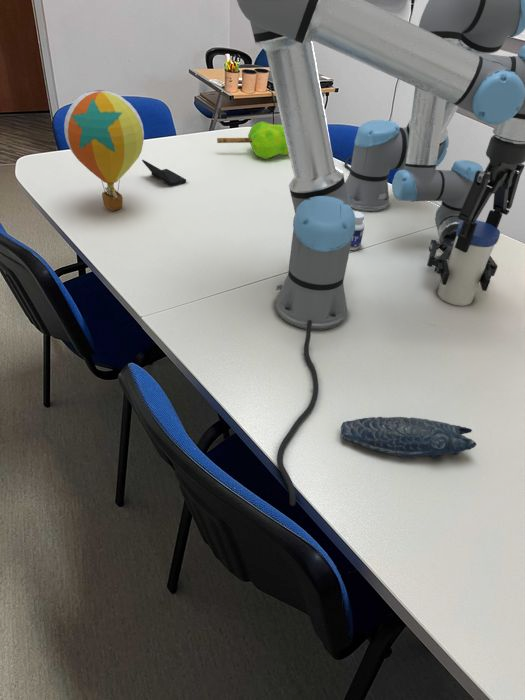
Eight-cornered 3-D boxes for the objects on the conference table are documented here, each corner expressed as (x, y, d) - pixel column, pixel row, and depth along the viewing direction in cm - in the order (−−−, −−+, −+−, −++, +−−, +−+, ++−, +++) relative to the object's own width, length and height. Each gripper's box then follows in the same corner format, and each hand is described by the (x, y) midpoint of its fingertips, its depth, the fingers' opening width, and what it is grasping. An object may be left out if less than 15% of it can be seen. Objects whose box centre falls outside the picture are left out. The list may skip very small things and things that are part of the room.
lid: (470, 225, 117) (473, 216, 116) (505, 240, 112) (508, 232, 111) (447, 233, 113) (450, 224, 112) (482, 250, 108) (485, 241, 107)
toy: (64, 203, 145) (44, 85, 127) (127, 189, 156) (117, 79, 137) (97, 229, 134) (80, 105, 116) (162, 213, 145) (156, 96, 126)
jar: (467, 288, 125) (491, 224, 115) (476, 307, 119) (502, 240, 109) (434, 285, 125) (455, 221, 115) (441, 304, 119) (464, 237, 108)
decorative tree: (214, 118, 187) (294, 118, 193) (214, 147, 194) (292, 146, 199) (220, 132, 174) (307, 132, 179) (220, 164, 180) (304, 162, 185)
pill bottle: (338, 247, 137) (344, 215, 131) (342, 239, 140) (348, 208, 135) (357, 252, 135) (364, 220, 130) (361, 243, 139) (368, 212, 134)
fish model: (474, 470, 81) (484, 449, 78) (339, 453, 82) (344, 431, 79) (465, 439, 86) (475, 417, 83) (339, 423, 87) (344, 401, 84)
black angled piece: (190, 175, 164) (173, 153, 156) (179, 193, 163) (161, 172, 155) (166, 170, 170) (147, 148, 162) (155, 188, 169) (136, 167, 161)
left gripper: (497, 151, 92) (458, 264, 106) (558, 137, 103) (515, 240, 117) (462, 139, 96) (429, 248, 111) (524, 126, 107) (486, 227, 121)
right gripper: (491, 256, 133) (508, 304, 116) (409, 244, 135) (414, 289, 118) (502, 230, 129) (521, 275, 111) (417, 217, 131) (422, 260, 113)
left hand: (473, 244), depth 114 cm, fingers closed on lid, 9 cm apart
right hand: (466, 282), depth 114 cm, fingers closed on jar, 8 cm apart
